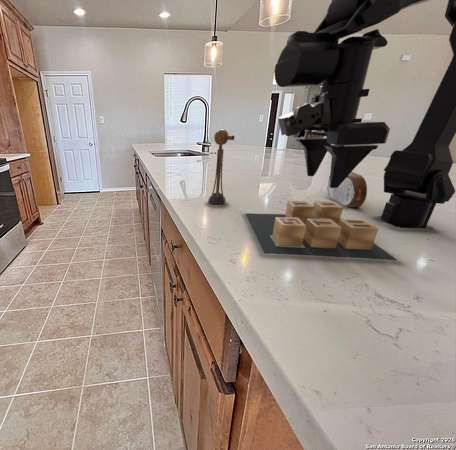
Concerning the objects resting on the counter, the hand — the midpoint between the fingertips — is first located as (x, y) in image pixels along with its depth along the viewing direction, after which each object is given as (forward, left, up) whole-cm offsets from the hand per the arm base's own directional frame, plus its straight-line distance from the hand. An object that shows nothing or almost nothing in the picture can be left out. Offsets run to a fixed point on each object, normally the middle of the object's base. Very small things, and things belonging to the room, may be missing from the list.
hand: (321, 181), depth 45 cm
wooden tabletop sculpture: (+17, -18, -11) cm, 27 cm away
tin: (-16, -22, -11) cm, 30 cm away
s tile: (+6, +5, -10) cm, 13 cm away
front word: (-3, +5, -10) cm, 12 cm away
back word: (-3, -6, -10) cm, 12 cm away
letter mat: (+1, 0, -11) cm, 11 cm away
